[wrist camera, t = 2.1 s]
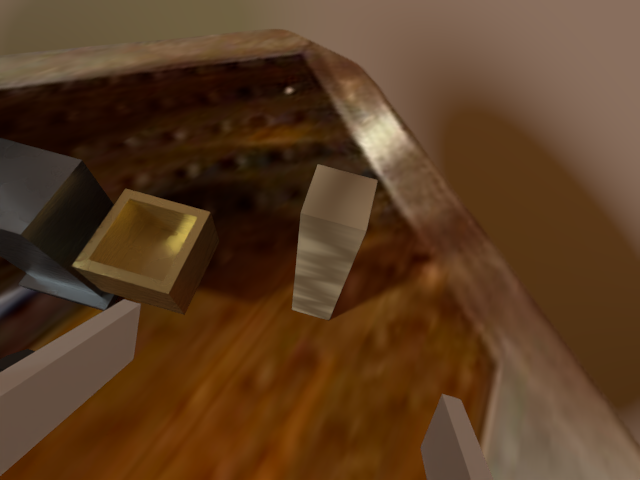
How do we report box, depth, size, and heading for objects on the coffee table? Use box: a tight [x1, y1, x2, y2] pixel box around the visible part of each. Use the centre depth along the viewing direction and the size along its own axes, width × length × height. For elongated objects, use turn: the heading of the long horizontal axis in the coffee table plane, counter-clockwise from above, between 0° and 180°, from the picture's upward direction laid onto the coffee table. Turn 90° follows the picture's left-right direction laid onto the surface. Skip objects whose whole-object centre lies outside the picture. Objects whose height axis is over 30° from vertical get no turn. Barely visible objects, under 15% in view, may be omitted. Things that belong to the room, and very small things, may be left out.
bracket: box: [0, 138, 219, 315], centre depth 31 cm, size 18×9×13 cm, turn 75°
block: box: [292, 165, 378, 320], centre depth 29 cm, size 4×4×18 cm
